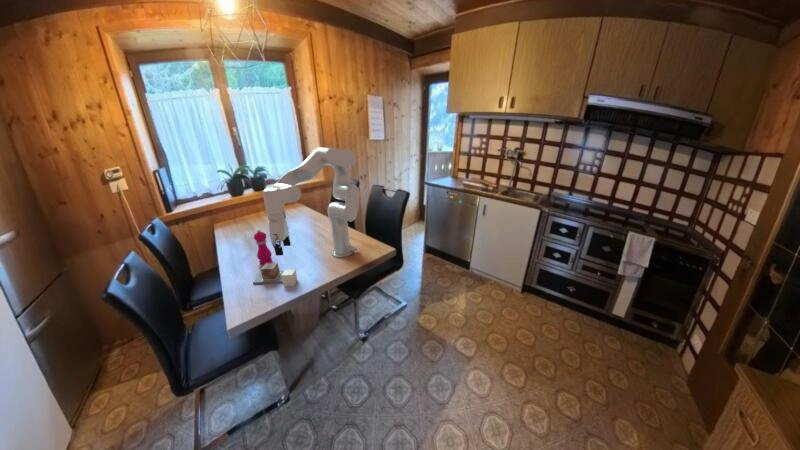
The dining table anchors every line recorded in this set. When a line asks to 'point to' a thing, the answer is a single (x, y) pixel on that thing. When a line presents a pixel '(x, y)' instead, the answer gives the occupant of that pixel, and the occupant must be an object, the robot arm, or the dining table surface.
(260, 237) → the pepper mill
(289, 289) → the dining table surface
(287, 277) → the cream block
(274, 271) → the walnut block
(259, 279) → the pad
